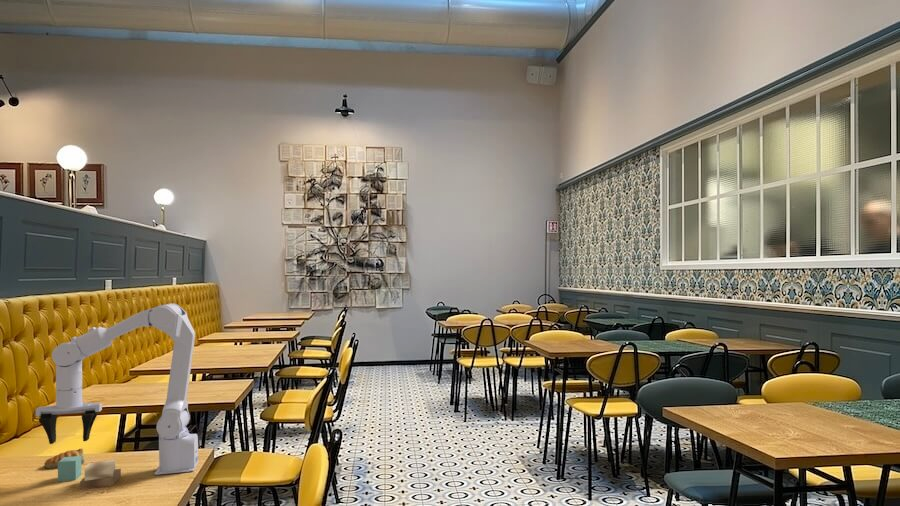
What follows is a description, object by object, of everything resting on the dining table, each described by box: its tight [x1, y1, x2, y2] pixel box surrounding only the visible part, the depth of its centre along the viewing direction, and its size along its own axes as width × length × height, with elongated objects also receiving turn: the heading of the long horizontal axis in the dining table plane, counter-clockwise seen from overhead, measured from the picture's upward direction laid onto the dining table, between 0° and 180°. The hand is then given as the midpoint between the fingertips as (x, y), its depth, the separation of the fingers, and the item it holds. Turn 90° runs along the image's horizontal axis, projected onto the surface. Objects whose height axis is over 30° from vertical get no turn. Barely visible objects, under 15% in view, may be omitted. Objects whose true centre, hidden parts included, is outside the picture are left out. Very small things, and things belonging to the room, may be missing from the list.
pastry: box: [43, 448, 86, 470], centre depth 160 cm, size 9×7×4 cm
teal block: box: [57, 456, 82, 483], centre depth 149 cm, size 4×4×5 cm
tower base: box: [79, 468, 122, 490], centre depth 146 cm, size 7×7×2 cm
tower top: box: [84, 459, 116, 481], centre depth 145 cm, size 6×6×2 cm
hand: (69, 441), depth 149 cm, fingers open, 7 cm apart
